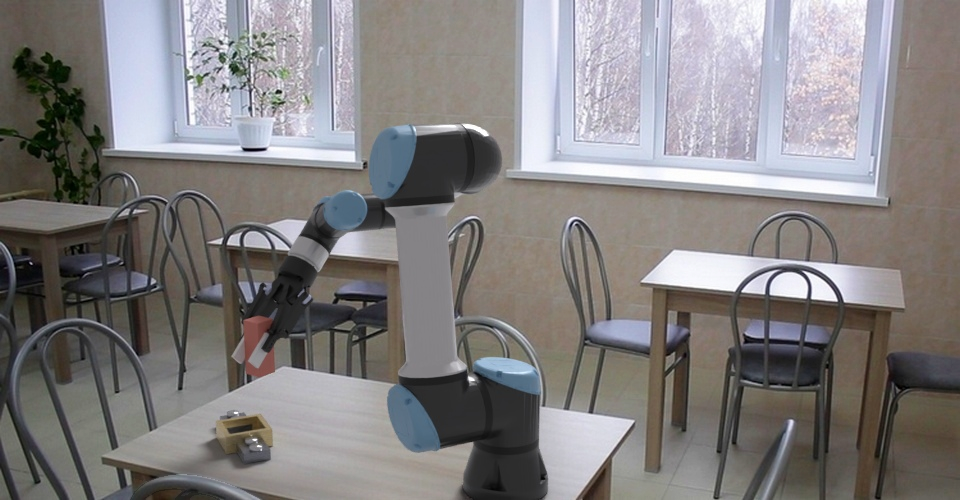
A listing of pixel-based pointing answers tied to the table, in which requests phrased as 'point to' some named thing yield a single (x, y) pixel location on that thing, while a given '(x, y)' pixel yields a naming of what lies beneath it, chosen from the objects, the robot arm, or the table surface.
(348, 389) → the table surface
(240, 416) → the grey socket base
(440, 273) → the robot arm
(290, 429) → the table surface
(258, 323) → the link pin
